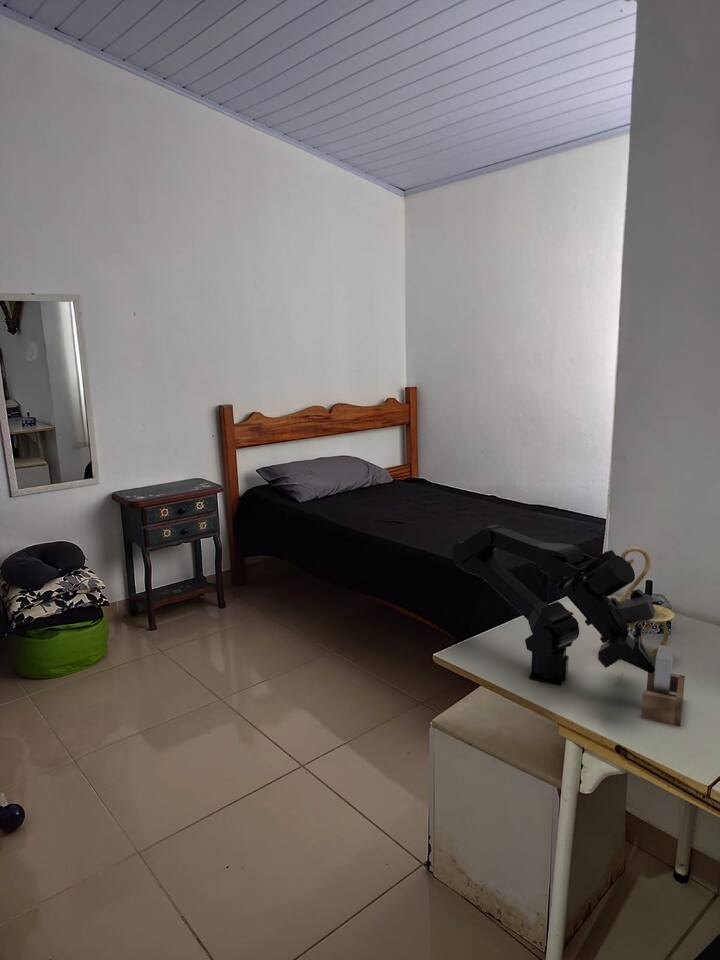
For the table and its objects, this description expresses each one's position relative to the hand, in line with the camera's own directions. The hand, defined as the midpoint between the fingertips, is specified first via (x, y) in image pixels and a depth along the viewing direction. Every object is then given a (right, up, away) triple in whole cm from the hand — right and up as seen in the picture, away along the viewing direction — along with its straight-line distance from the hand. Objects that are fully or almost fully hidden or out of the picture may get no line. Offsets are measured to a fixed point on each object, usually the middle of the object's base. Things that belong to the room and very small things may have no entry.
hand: (654, 671), depth 118 cm
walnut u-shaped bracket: (+2, -7, +1) cm, 7 cm away
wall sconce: (+6, -3, +21) cm, 22 cm away
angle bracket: (+2, -7, +1) cm, 7 cm away
